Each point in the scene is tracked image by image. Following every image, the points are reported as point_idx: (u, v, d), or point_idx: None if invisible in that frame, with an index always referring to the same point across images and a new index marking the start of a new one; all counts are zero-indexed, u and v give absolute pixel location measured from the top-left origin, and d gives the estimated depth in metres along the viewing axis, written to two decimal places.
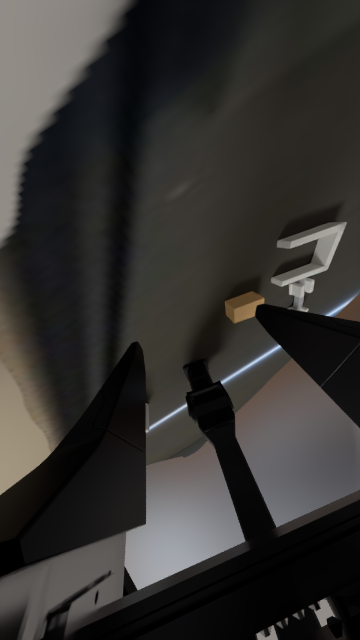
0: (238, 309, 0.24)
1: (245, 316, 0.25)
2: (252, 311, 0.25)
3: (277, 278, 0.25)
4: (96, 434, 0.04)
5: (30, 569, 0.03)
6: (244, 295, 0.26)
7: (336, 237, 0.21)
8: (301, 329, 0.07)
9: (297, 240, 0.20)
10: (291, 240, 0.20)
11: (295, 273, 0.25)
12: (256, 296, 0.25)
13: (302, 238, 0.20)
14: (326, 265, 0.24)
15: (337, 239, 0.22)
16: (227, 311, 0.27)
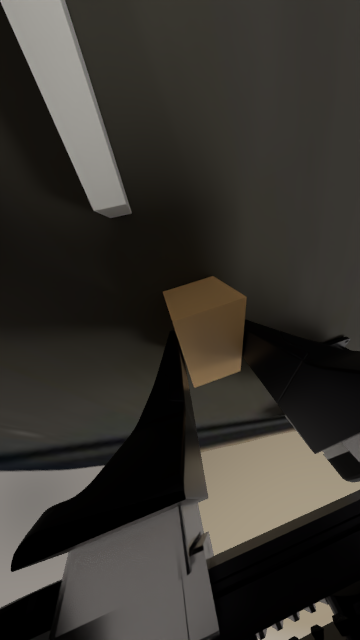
0: (197, 380, 0.09)
1: (231, 353, 0.08)
2: (220, 340, 0.07)
3: None
4: (177, 406, 0.04)
5: (163, 514, 0.03)
6: None
7: None
8: (256, 344, 0.07)
9: None
10: None
11: None
12: None
13: None
14: None
15: None
16: None
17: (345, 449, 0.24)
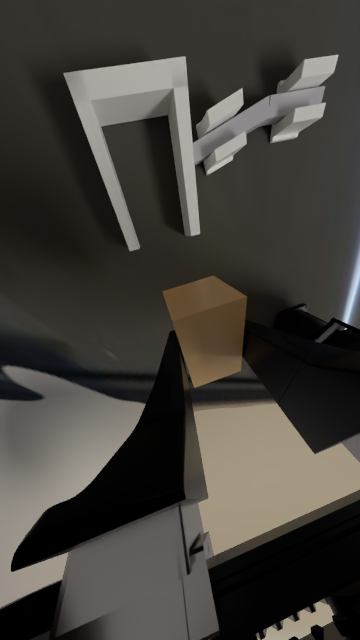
0: (197, 380, 0.09)
1: (231, 352, 0.08)
2: (220, 340, 0.07)
3: (186, 231, 0.15)
4: (177, 406, 0.04)
5: (163, 514, 0.03)
6: None
7: (103, 94, 0.08)
8: (256, 344, 0.07)
9: (126, 238, 0.13)
10: (128, 245, 0.13)
11: (182, 190, 0.12)
12: None
13: (122, 227, 0.12)
14: (171, 78, 0.09)
15: (106, 81, 0.08)
16: None
17: None
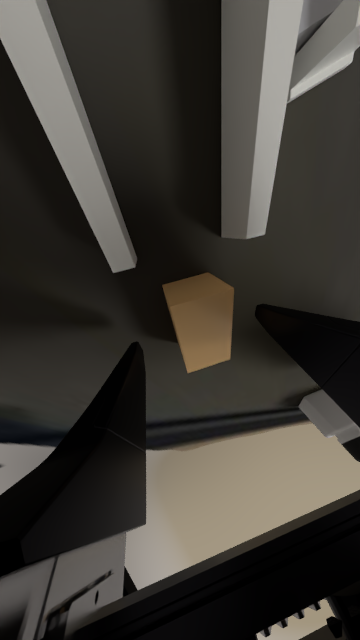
0: (190, 366, 0.10)
1: (221, 340, 0.09)
2: (211, 328, 0.08)
3: (229, 230, 0.07)
4: (96, 434, 0.04)
5: (30, 569, 0.03)
6: None
7: None
8: (301, 329, 0.07)
9: (104, 244, 0.05)
10: None
11: (238, 129, 0.05)
12: None
13: (91, 218, 0.05)
14: None
15: None
16: None
17: (358, 433, 0.26)
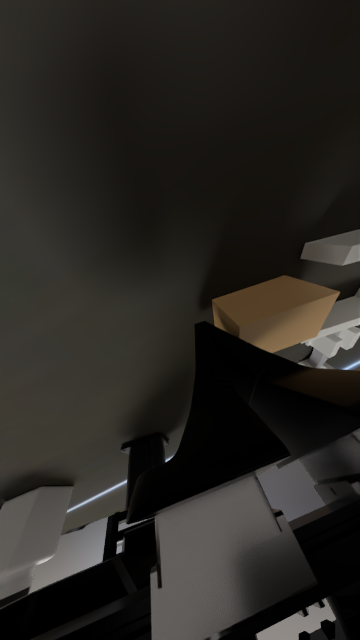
0: (252, 327, 0.07)
1: (271, 347, 0.09)
2: (293, 333, 0.08)
3: None
4: (227, 388, 0.04)
5: (243, 481, 0.03)
6: (267, 286, 0.09)
7: None
8: (224, 354, 0.07)
9: None
10: (349, 243, 0.07)
11: (329, 315, 0.12)
12: (306, 288, 0.08)
13: None
14: None
15: None
16: None
17: (20, 586, 0.17)
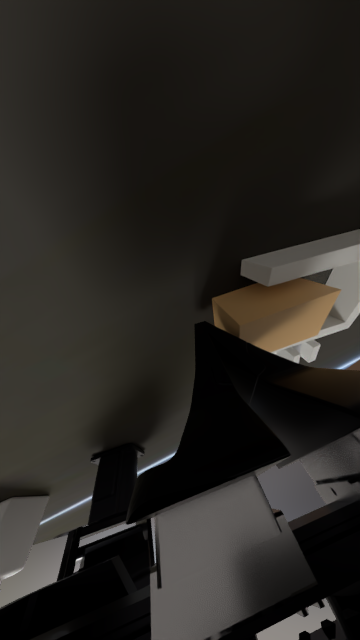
0: (252, 325, 0.07)
1: (272, 345, 0.09)
2: (293, 331, 0.08)
3: None
4: (227, 388, 0.04)
5: (243, 481, 0.03)
6: None
7: None
8: (224, 354, 0.07)
9: (290, 266, 0.07)
10: (273, 264, 0.07)
11: None
12: (307, 286, 0.08)
13: (304, 261, 0.07)
14: (348, 320, 0.11)
15: None
16: (219, 327, 0.10)
17: None
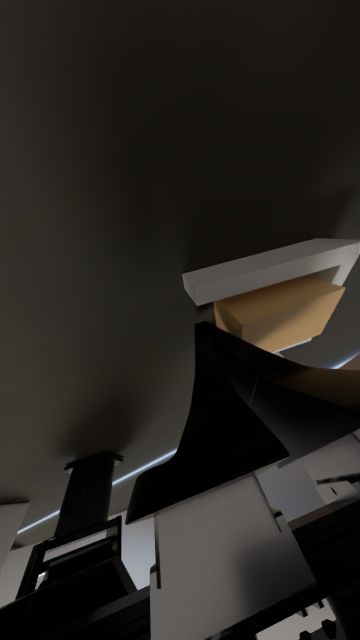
0: (255, 324, 0.07)
1: (274, 344, 0.08)
2: (297, 330, 0.08)
3: None
4: (227, 388, 0.04)
5: (242, 481, 0.03)
6: None
7: (334, 279, 0.08)
8: (224, 354, 0.07)
9: (217, 284, 0.06)
10: (201, 282, 0.06)
11: None
12: (310, 284, 0.08)
13: (233, 279, 0.06)
14: None
15: (337, 284, 0.08)
16: (221, 326, 0.10)
17: None
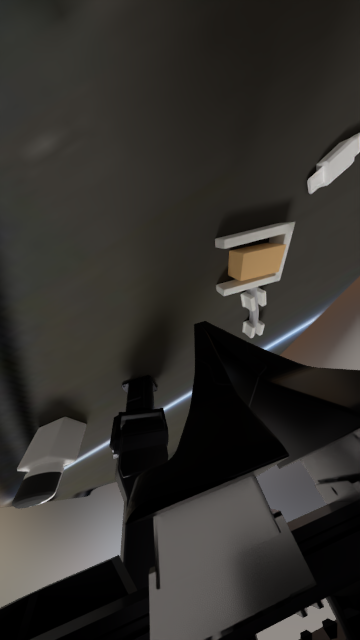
0: (248, 255, 0.16)
1: (256, 272, 0.18)
2: (266, 265, 0.18)
3: (221, 286, 0.21)
4: (227, 388, 0.04)
5: (241, 481, 0.03)
6: (256, 245, 0.19)
7: (284, 240, 0.17)
8: (224, 354, 0.07)
9: (232, 239, 0.16)
10: (226, 238, 0.16)
11: (242, 281, 0.21)
12: (273, 244, 0.18)
13: (239, 237, 0.16)
14: (277, 274, 0.20)
15: (286, 243, 0.18)
16: (231, 266, 0.19)
17: (56, 469, 0.26)
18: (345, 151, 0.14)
